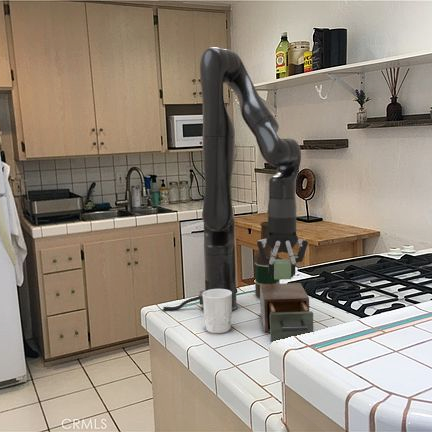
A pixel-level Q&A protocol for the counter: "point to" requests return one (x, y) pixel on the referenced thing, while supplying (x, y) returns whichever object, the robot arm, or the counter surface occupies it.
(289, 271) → the block
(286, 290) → the cabinet
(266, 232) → the beer bottle
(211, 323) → the white cup
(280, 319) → the drawer
